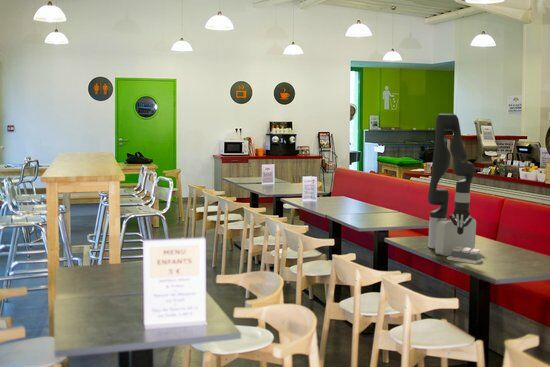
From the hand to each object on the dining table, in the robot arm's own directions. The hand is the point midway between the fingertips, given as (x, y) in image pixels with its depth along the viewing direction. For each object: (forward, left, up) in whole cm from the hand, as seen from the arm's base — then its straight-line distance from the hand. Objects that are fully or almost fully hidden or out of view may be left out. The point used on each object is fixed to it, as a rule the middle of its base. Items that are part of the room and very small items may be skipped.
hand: (460, 234), depth 346 cm
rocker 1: (-1, -1, -8) cm, 8 cm away
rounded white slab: (-14, -8, -13) cm, 21 cm away
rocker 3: (-1, +8, -8) cm, 11 cm away
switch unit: (+1, +4, -13) cm, 13 cm away
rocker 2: (-1, +4, -8) cm, 9 cm away
